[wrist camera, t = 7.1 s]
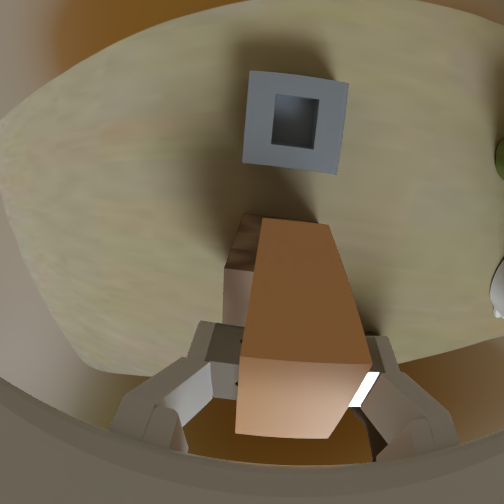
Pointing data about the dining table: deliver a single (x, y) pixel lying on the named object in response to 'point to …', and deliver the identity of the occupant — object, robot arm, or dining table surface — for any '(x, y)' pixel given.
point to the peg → (299, 336)
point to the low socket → (294, 121)
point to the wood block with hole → (242, 269)
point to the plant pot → (500, 159)
